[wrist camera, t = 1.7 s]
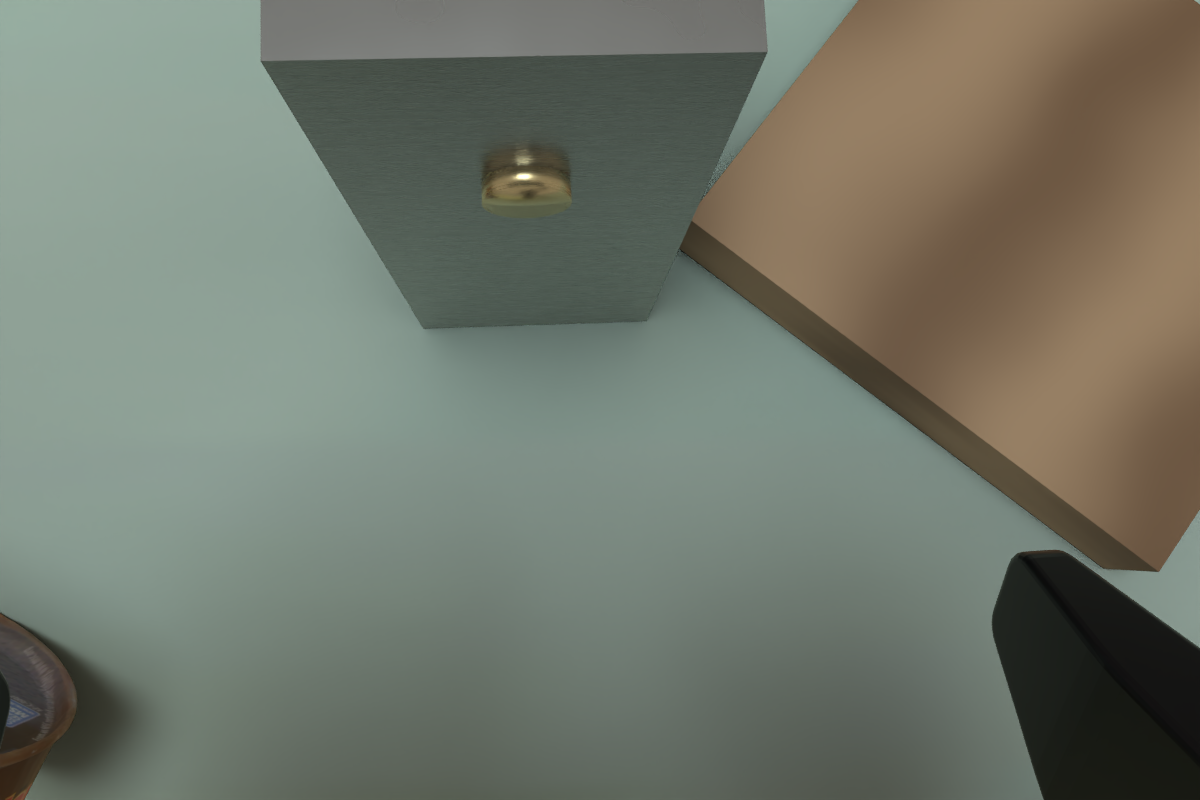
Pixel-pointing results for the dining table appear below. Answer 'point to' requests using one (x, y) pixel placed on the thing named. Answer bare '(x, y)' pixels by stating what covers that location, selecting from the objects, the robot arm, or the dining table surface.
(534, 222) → the brushed metal box
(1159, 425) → the plate
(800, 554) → the dining table surface
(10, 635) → the tin
